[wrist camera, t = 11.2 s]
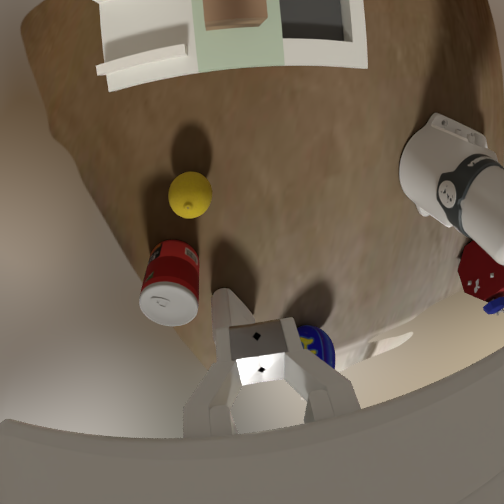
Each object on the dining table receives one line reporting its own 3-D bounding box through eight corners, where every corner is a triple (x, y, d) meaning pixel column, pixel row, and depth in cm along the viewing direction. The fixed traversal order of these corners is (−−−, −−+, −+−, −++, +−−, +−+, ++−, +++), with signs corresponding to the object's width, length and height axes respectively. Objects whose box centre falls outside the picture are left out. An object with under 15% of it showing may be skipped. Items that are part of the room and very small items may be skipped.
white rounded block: (257, 316, 56) (267, 369, 45) (238, 325, 56) (245, 378, 46) (228, 282, 50) (233, 339, 40) (207, 293, 51) (208, 350, 41)
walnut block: (254, -16, 23) (262, -32, 18) (258, 26, 26) (267, 17, 21) (202, -12, 22) (200, -28, 17) (205, 30, 26) (204, 21, 21)
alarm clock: (458, 277, 59) (503, 333, 42) (442, 269, 56) (491, 331, 40) (490, 228, 52) (543, 279, 35) (476, 216, 49) (536, 271, 33)
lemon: (168, 168, 38) (159, 190, 31) (208, 161, 38) (208, 181, 31) (176, 204, 41) (170, 232, 34) (214, 197, 41) (215, 225, 34)
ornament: (307, 308, 56) (330, 371, 44) (333, 326, 60) (356, 383, 48) (267, 339, 60) (280, 401, 48) (295, 352, 64) (310, 409, 52)
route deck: (348, -30, 23) (368, -41, 18) (357, 68, 32) (379, 69, 27) (106, -13, 21) (89, -24, 16) (116, 90, 30) (100, 94, 25)
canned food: (152, 234, 43) (138, 280, 34) (203, 242, 45) (202, 289, 36) (149, 273, 47) (138, 322, 38) (196, 280, 49) (194, 329, 40)
